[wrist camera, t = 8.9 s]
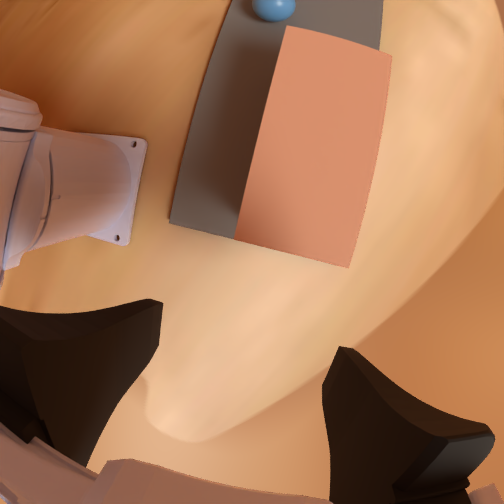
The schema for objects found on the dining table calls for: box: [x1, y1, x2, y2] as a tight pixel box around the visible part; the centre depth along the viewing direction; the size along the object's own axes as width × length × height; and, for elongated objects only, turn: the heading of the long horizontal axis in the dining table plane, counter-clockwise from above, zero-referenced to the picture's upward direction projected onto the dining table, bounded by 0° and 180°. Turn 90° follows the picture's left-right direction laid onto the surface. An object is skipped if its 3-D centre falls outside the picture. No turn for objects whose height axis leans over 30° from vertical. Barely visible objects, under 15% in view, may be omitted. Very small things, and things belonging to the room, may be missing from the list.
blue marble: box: [252, 0, 296, 22], centre depth 14 cm, size 3×3×3 cm
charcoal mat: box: [169, 0, 383, 262], centre depth 16 cm, size 12×26×1 cm, turn 166°
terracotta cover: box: [234, 25, 392, 268], centre depth 15 cm, size 5×11×6 cm, turn 167°
